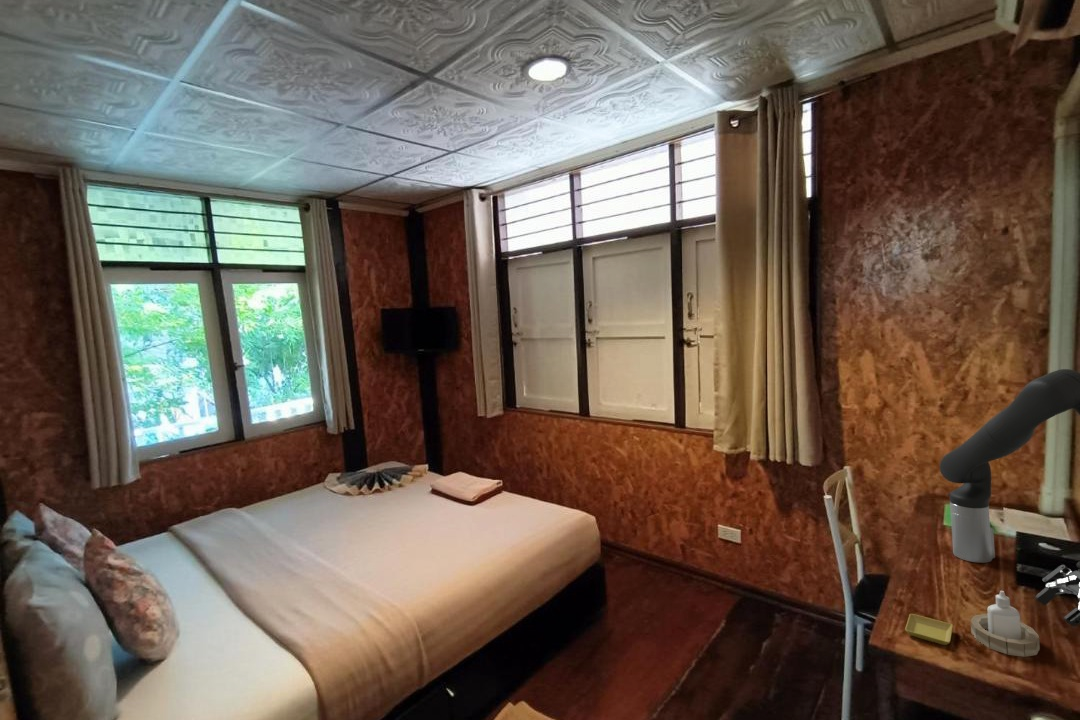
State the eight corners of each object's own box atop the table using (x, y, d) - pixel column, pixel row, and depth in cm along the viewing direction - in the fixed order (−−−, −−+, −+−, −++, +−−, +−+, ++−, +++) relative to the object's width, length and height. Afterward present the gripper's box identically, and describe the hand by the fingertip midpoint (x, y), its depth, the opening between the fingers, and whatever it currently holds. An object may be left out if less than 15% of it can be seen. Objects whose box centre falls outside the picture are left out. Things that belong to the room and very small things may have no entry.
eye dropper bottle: (1021, 649, 111) (1018, 599, 111) (988, 640, 115) (985, 591, 115) (1022, 640, 114) (1019, 591, 114) (989, 631, 118) (986, 583, 118)
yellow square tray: (950, 651, 114) (949, 642, 114) (905, 637, 120) (904, 629, 120) (953, 632, 120) (953, 624, 120) (910, 620, 126) (909, 612, 126)
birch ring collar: (1000, 622, 121) (1000, 610, 121) (1053, 651, 110) (1052, 638, 109) (959, 629, 120) (958, 618, 120) (1008, 660, 109) (1007, 647, 108)
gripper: (1071, 539, 116) (1016, 584, 119) (1126, 568, 102) (1062, 618, 106) (1100, 561, 115) (1044, 606, 118) (1160, 594, 101) (1094, 643, 104)
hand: (1053, 612), depth 112 cm, fingers open, 8 cm apart
